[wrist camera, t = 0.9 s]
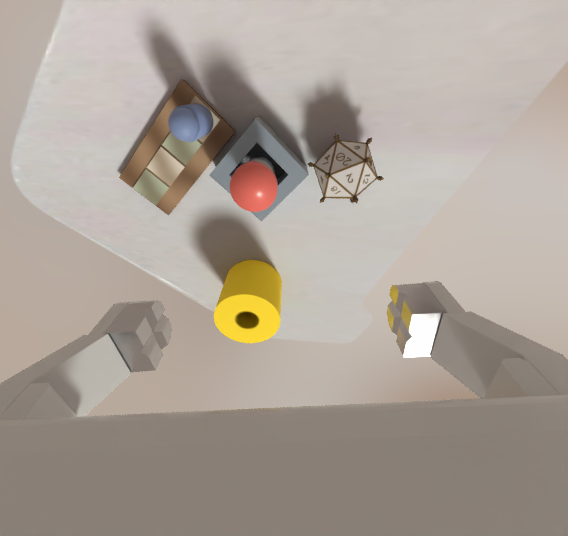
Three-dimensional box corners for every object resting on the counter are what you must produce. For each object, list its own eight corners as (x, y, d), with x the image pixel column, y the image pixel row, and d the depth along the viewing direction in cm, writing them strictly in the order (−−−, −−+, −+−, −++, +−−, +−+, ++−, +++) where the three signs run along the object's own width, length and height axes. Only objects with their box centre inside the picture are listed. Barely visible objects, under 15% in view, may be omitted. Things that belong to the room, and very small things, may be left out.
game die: (323, 162, 41) (283, 169, 34) (367, 117, 35) (328, 114, 29) (356, 210, 41) (321, 227, 34) (405, 173, 35) (376, 184, 28)
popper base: (258, 115, 35) (255, 118, 32) (306, 167, 38) (308, 174, 35) (216, 167, 39) (209, 175, 35) (263, 210, 42) (261, 221, 38)
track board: (183, 79, 33) (180, 79, 32) (235, 131, 36) (234, 132, 35) (122, 176, 39) (118, 177, 39) (170, 213, 42) (167, 215, 42)
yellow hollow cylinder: (239, 309, 53) (230, 348, 45) (216, 268, 48) (202, 303, 40) (288, 297, 51) (288, 335, 43) (270, 253, 46) (266, 287, 38)
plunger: (257, 142, 34) (250, 153, 28) (287, 172, 36) (287, 188, 30) (231, 173, 36) (220, 189, 30) (261, 200, 38) (255, 220, 32)
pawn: (195, 96, 33) (173, 97, 27) (219, 119, 34) (203, 126, 28) (179, 120, 34) (154, 127, 28) (202, 142, 36) (184, 153, 30)
